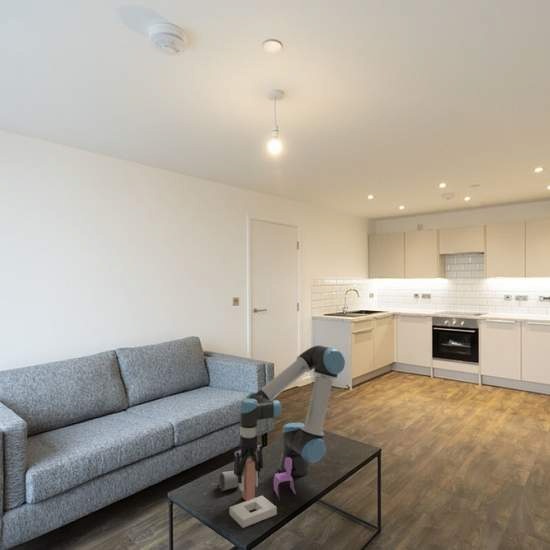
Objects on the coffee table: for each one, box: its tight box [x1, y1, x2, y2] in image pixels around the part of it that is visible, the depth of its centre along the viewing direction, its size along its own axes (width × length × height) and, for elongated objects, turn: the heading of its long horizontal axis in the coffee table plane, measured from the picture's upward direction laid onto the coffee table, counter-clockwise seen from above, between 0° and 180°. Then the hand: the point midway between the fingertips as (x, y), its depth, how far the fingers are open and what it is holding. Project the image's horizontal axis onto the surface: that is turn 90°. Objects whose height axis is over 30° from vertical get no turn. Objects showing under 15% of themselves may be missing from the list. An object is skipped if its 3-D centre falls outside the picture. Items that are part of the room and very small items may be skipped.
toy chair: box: [273, 457, 297, 498], centre depth 181 cm, size 8×9×15 cm
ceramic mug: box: [218, 470, 239, 492], centre depth 186 cm, size 11×8×8 cm
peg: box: [241, 458, 256, 501], centre depth 176 cm, size 4×4×16 cm
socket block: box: [228, 495, 278, 529], centre depth 163 cm, size 16×11×3 cm
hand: (248, 487), depth 176 cm, fingers open, 6 cm apart
